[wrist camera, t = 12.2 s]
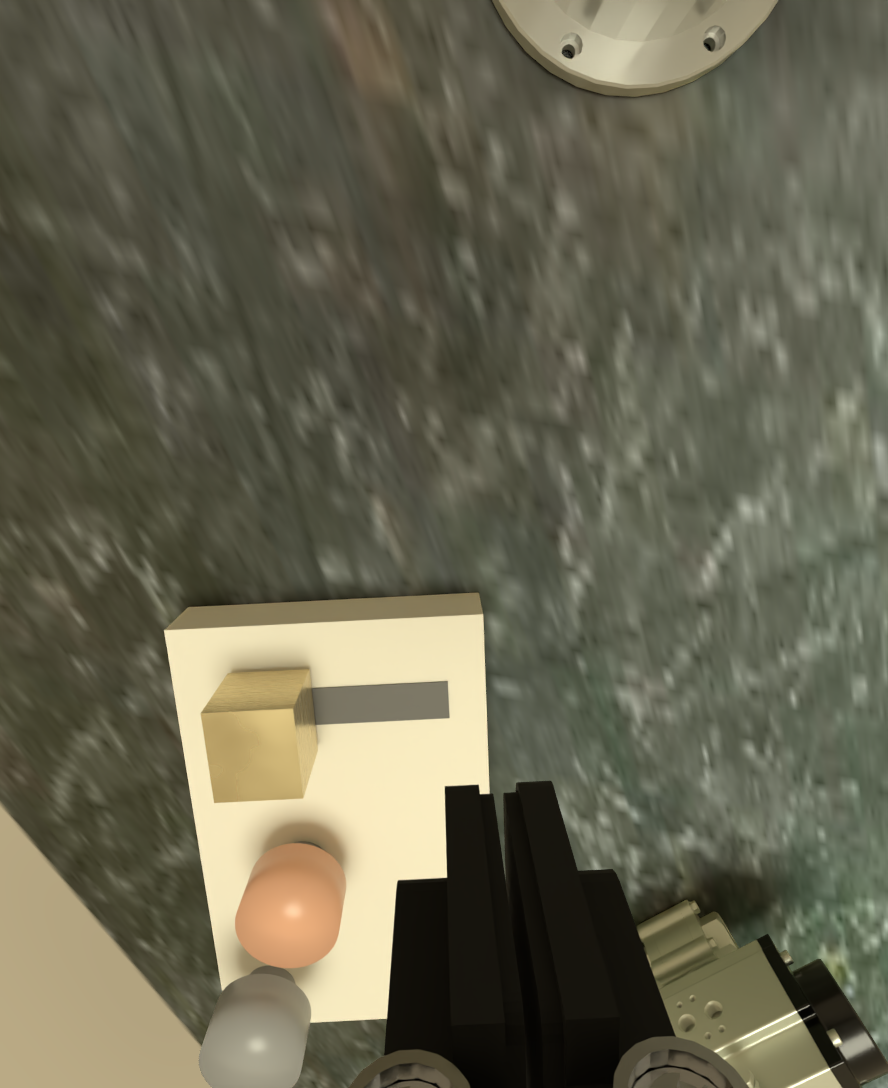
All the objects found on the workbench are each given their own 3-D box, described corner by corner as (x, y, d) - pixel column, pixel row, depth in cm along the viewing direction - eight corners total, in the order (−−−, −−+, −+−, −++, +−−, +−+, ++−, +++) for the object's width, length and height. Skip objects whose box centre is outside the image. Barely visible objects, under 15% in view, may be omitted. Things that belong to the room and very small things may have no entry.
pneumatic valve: (787, 910, 38) (945, 1153, 26) (603, 1004, 39) (675, 1274, 27) (742, 839, 36) (888, 1059, 25) (554, 938, 38) (608, 1191, 26)
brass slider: (309, 669, 30) (293, 708, 26) (318, 750, 31) (303, 798, 27) (227, 673, 30) (200, 713, 26) (239, 754, 31) (214, 803, 27)
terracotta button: (346, 820, 32) (334, 879, 28) (353, 899, 33) (343, 965, 29) (252, 825, 32) (228, 884, 28) (263, 903, 33) (241, 970, 29)
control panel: (478, 592, 33) (483, 614, 30) (492, 963, 38) (497, 1014, 35) (188, 607, 33) (163, 631, 30) (243, 976, 38) (227, 1028, 35)
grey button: (312, 946, 32) (296, 1020, 29) (320, 1019, 33) (306, 1099, 30) (219, 950, 32) (191, 1025, 29) (231, 1023, 33) (206, 1104, 30)
